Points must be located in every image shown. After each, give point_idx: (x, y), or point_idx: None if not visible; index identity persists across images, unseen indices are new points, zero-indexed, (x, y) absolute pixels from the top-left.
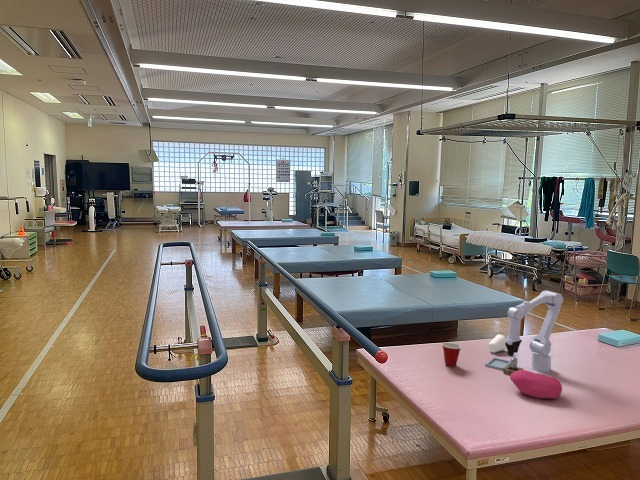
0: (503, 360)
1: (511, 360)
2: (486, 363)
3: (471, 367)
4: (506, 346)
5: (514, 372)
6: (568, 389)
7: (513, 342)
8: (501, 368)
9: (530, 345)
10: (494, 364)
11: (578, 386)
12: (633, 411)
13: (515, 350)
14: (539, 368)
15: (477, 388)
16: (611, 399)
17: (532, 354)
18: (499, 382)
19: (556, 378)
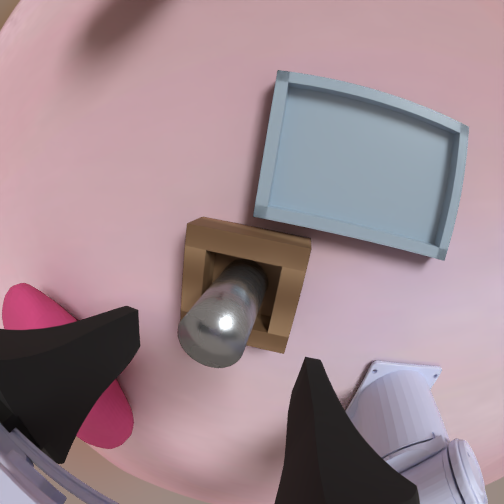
0: (449, 200)
1: (189, 310)
2: (298, 74)
3: (217, 16)
4: (8, 333)
5: (14, 312)
6: (197, 448)
7: (302, 484)
8: (256, 197)
9: (463, 462)
10: (354, 133)
11: (245, 471)
12: (165, 488)
13: (295, 401)
14: (359, 411)
15: (18, 155)
16: (200, 488)
17: (412, 435)
18: (83, 216)
19: (95, 445)
